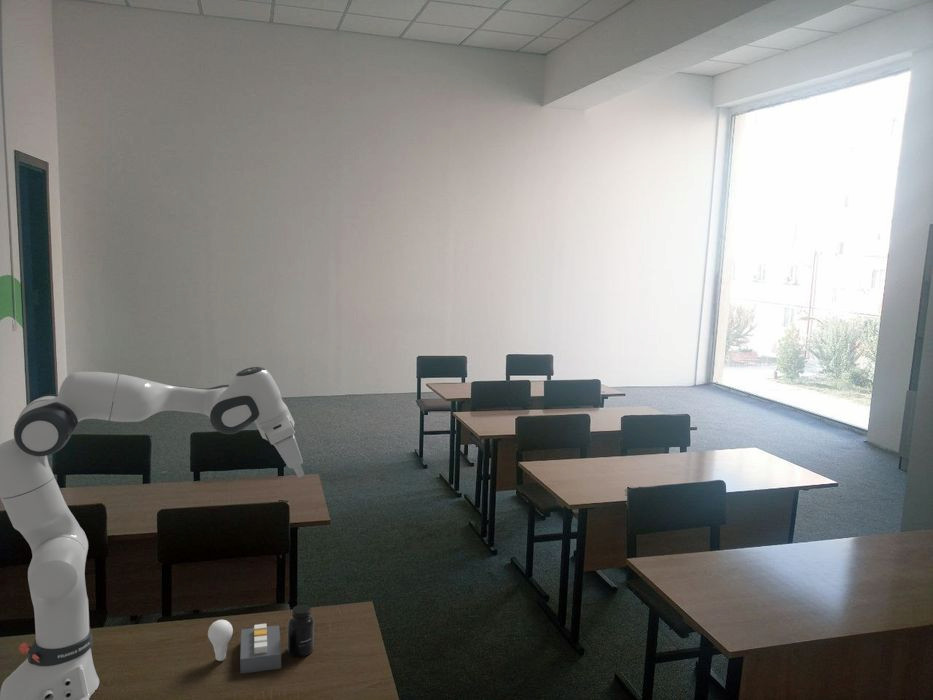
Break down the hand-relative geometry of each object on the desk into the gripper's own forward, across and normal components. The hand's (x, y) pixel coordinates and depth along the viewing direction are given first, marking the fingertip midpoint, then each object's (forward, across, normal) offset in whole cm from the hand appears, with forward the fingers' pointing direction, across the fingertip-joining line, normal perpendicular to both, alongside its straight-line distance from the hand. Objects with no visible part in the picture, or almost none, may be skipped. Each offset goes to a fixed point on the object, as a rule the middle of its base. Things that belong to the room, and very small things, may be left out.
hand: (298, 469), depth 183 cm
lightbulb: (+38, +1, -38) cm, 54 cm away
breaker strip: (+42, -2, -29) cm, 51 cm away
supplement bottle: (+46, +3, -20) cm, 50 cm away
